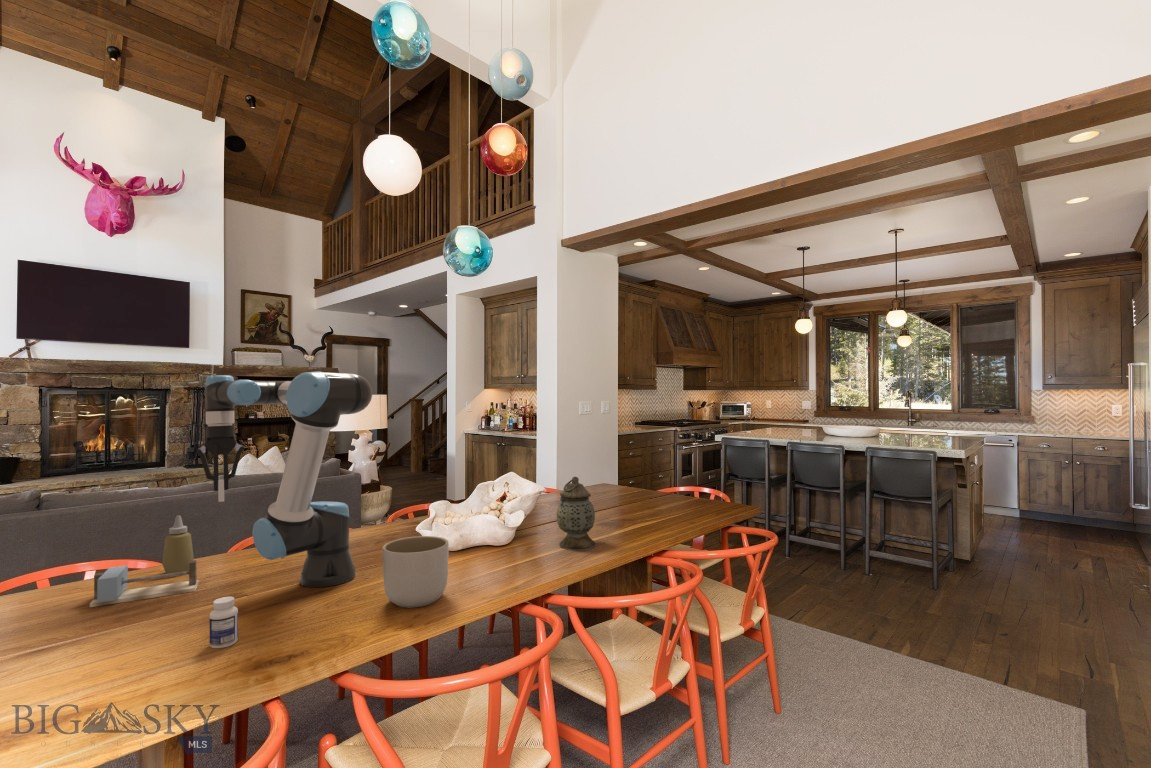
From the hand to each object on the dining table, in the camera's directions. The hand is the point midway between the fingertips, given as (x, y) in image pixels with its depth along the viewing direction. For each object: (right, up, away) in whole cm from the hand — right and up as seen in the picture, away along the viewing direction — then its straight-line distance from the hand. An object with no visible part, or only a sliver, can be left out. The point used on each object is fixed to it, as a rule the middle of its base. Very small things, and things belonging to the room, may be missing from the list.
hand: (221, 501), depth 168 cm
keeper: (-17, -22, -19) cm, 34 cm away
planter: (+67, -22, -23) cm, 74 cm away
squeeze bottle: (-16, -24, +3) cm, 29 cm away
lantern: (+110, -23, +29) cm, 116 cm away
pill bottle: (+31, -22, -47) cm, 60 cm away
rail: (-11, -23, -15) cm, 30 cm away
